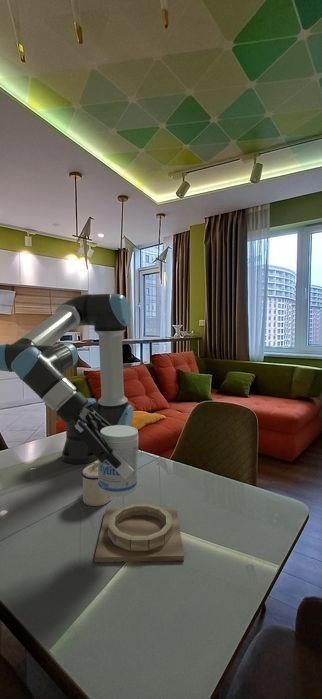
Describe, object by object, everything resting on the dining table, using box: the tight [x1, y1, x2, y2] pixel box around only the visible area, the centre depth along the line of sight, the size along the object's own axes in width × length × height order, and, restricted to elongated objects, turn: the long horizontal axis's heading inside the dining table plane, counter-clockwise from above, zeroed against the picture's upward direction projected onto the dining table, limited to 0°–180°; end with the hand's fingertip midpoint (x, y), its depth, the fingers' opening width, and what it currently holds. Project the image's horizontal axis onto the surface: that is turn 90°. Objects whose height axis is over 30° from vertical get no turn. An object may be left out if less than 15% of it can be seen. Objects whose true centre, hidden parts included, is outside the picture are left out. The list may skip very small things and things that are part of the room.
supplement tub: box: [98, 425, 139, 498], centre depth 82 cm, size 10×10×15 cm
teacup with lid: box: [81, 460, 112, 507], centre depth 103 cm, size 12×9×12 cm
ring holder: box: [94, 502, 185, 563], centre depth 85 cm, size 20×20×4 cm
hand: (131, 465), depth 82 cm, fingers closed on supplement tub, 9 cm apart
